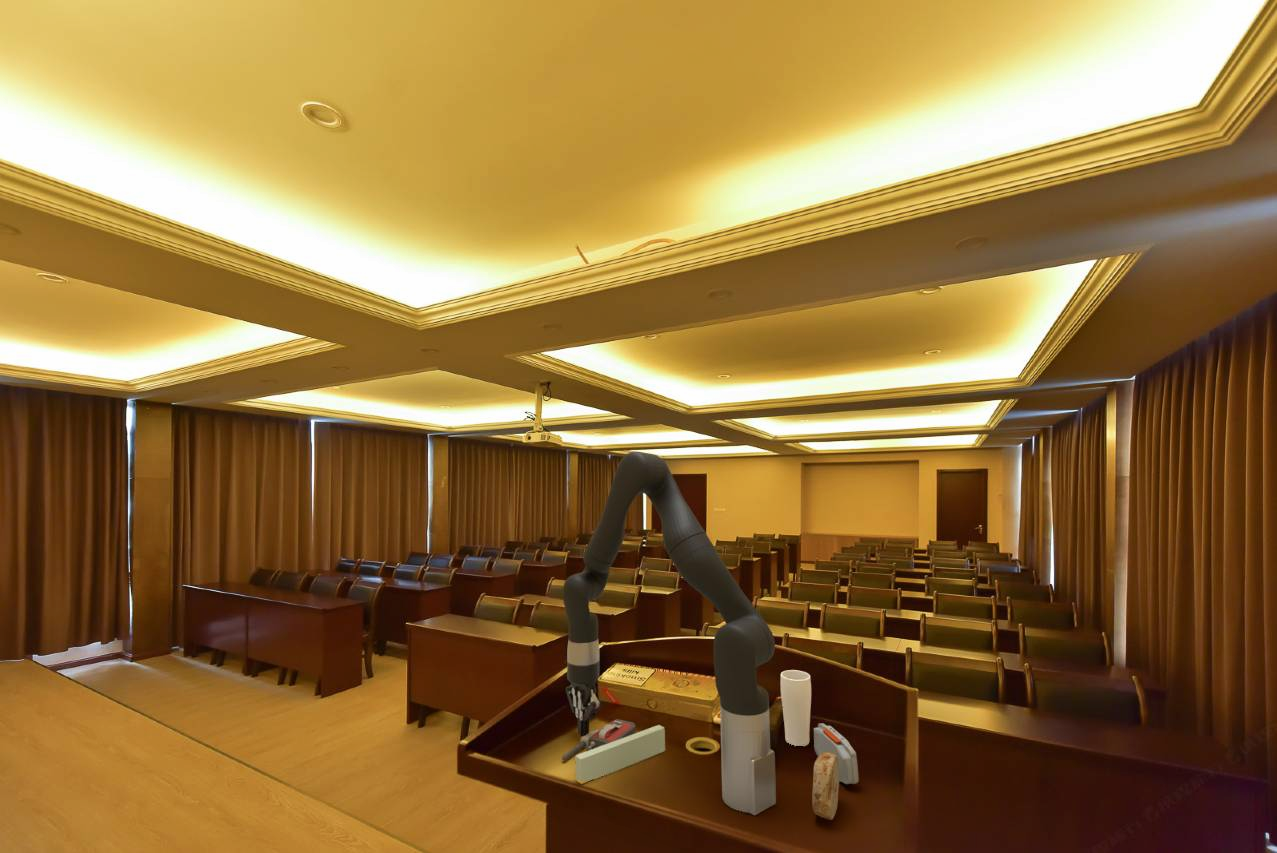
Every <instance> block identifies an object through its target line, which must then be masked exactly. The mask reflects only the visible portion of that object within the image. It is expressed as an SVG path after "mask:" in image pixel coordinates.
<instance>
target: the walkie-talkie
mask: <svg viewBox="0 0 1277 853" xmlns="http://www.w3.org/2000/svg"><path fill="white" fill-rule="evenodd" d="M636 731H637V730H636V724H635V723H634V722H632V721H627V720H624V719H619V718H616V719H614V720H612V721H610V722H609V723H607V724H605V726H603V727H601V729H594V730H591V731H589V733H588V734H587V735H585V736H581V737H580V739H579V740H580V742H579V743H578V744H577V745H576V746H574V747H573V748H572V749H570V750H569V751H567V752H566V753H565V754H563V755H562V756H561V759H562V760H563V761H566V760H568V759H570V757H572V756H573V755H575V754H576V753H577V752H578V751H580V750H582V749H584V748H585V749H587V751H589V750H592V749H594V748H597V747H600V746H603V745H605V744H608V743H611V742H613V741H616V740H619V739H622V738H624V737H627V736H630V735H633V734H635V733H637V732H636Z"/></svg>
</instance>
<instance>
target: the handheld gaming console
mask: <svg viewBox="0 0 1277 853" xmlns="http://www.w3.org/2000/svg"><path fill="white" fill-rule="evenodd" d="M813 740H814V741H813V742H814V744H813V747H814V751H815V753H816V755H817V758H818V757H819V756H820V754H821V753H825V752H826V753H832V754H835V755H836V756H837V759H838V776H839V783H840V782H841V783H843V784H845V785H850V784H852V785H854V784H858V783H859V780H860V778H859V768H858V759H857V758H858V757H857V752H856V751H855V750H854V748H853V747H852V746H851V744H850V742H849V741H848V740H847V738H846V737H844V736H843V735H842V734H841V733H839V732H838V731H837V730H836V729H835V728H834V727H832V726H831V725H826V724H825V723H823V722H822V723H818V724H817V727H813Z"/></svg>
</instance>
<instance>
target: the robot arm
mask: <svg viewBox="0 0 1277 853" xmlns="http://www.w3.org/2000/svg"><path fill="white" fill-rule="evenodd" d="M638 494H644V495H646V497H648V499H649V501H650V503H652V505H653V507H654V508H655V510H656V512H657V513H658V516H659V518H660V521H661V522H660V523H661V531H662V539H663V541H662V542H663V544H664V548H665V550H666V552H667V554H668V557H669V558H670V560H671V562H672V564H673V565H674V567H675V569H676V570H677V572H678V574H679V575H680V576H681V577H682V579H683V580H684V581H686V582H687V584H689V585H690V586H691V587H692V588H694V589H695V590H696V591H698V593H699V594H701V596H703V597H705V598H706V599H707V600H708V601H709V602H710V603H711V604H712V605H713V606H714V607H715V609H716V610H717V611H718V613H719V614H720V616H721V618H722V620H724V622H725V624H723V625H721V626H720V627H719V628H718V629H717V631H716V632H715V635H714V639H713V646H712V647H713V666H714V667H713V668H714V680H715V681H714V682H715V686H716V691H717V693H718V695H719V702H720V704H719V705H720V709H719V710H720V712H719V713H720V749H721V750H720V751H721V754H720V755H721V761H720V762H721V791H722V793H721V795H722V797H721V798H722V801H723V803H724V804H726V805H727V806H728V807H730V808H731V809H733V810H736V811H738V810H739V811H738V812H741V811H742V812H741V813H748V814H751V815H753V816H756V815H758V814H760V813H761V812H763V811H765V810H767V809H768V808H771V807H773V806H774V805H776V804H777V793H776V792H777V790H776V757H775V756H776V755H775V751H774V750H773V749H771V737H770V736H771V735H770V732H771V731H770V730H771V729H770V728H771V727H770V698H769V693H768V691H767V690H766V689H765V688H764V687H763V686H761V685H759V684H758V679H757V678H758V677H757V668H758V667H759V666H762V665H764V664H766V663H768V662H769V661H770V660H771V659H772V658H773V656H774V655H775V649H776V647H775V646H776V644H775V637H774V636H773V632H772V631H771V628H770V627H769V625H768V623H767V622H766V621H765V619H764V618H763V617H762V615H761V613H759V611H758V610H757V608H755V606H754V605H753V604H752V602H751V601H750V600H749V598H748V597H747V596H746V594H745V593H744V592H743V590H742V589H741V587H740V586H739V584H738V583H737V581H736V580H735V578H734V577H733V575H732V573H731V572H730V570H729V569H728V567H727V566H726V564H725V563H724V561H723V559H722V558H721V556H720V554H719V553H718V551H717V549H716V547H715V546H714V544H713V543H712V541H711V539H710V538H709V536H708V534H707V533H706V531H705V530H704V528H703V527H702V525H701V523H699V520H698V519H697V517H696V515H695V514H694V513H693V511H692V509H691V508H690V505H688V503H687V502H686V500H685V498H684V496H683V495H682V493H681V490H680V488H679V486H678V484H677V483H676V480H675V478H674V476H673V474H672V472H671V470H670V468H669V466H668V465H667V463H666V461H665V460H664V459H663V458H662V457H661V456H659V455H656V454H654V453H648V452H641V451H631V452H628V453H626V454H625V455H624V456H623V457H622V458H621V460H620V461H619V463H618V465H617V468H616V470H615V474H614V477H613V480H612V484H611V487H610V490H609V493H608V496H607V499H606V502H605V504H604V505H605V506H604V508H603V512H602V514H601V517H600V519H599V522H598V525H597V527H596V529H595V531H594V533H593V535H592V537H591V539H590V540H589V542H588V544H587V547H586V549H585V551H584V554H583V557H582V559H583V562H584V564H585V567H584V569H583V570H582V571H581V572H578V573H575V574H572V575H570V576H568V577H567V578H566V580H565V581H564V583H563V587H562V594H561V596H562V601H563V605H564V610H565V615H566V619H567V621H568V631H567V632H568V641H567V642H568V643H567V649H566V650H567V651H566V652H567V653H566V654H567V655H566V656H567V657H566V658H567V659H566V662H567V663H566V665H567V666H566V667H567V669H566V670H567V672H566V677H567V681H568V682H570V685H568V686H566V687H565V693H566V695H567V696H566V697H567V700H568V703H569V706H570V708H571V712H572V713H573V714H574V713H575V717H576V718H577V734H578V735H579V736H580V737H584V736H585V735H587V734H588V733H589V732H590V720H591V719H594V718H596V716H597V714H598V712H599V710H600V709H601V707H602V705H603V700H602V699H598V697H597V696H596V694H597V688H596V682H597V681H598V680H599V678H600V644H599V619H598V616H597V614H596V613H595V612H592V611H590V606H589V605H590V603H589V602H592V601H595V600H597V599H598V598H599V597H600V596H601V594H603V592H604V590H605V588H606V585H607V582H608V578H609V575H610V572H611V566H612V565H613V563H614V561H615V560H616V557H617V556H618V553H619V551H620V549H621V548H622V545H623V542H624V540H625V530H626V519H627V514H628V512H629V509H630V506H631V505H632V503H633V502H634V500H635V498H636V497H637V495H638Z"/></svg>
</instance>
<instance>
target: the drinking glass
mask: <svg viewBox="0 0 1277 853" xmlns="http://www.w3.org/2000/svg"><path fill="white" fill-rule="evenodd" d="M811 680H812V679H811V675H810V674H809V673H808V672H806V671H803V670H802V671H801V670H796V669H790V670H788V669H787V670H784V671H782V672H781V673H780V697H781V705H782V706H781V708H782V707H783V708H782V714H783V722H784V725H783V726H784V737H785V738H784V739H785V742H786V743H787V744H788V743H789V745H790V744H791V745H790V746H792V745H794V746H793V747H796V746H803V747H806V746H808V745H809V743H810V724H811V707H812V706H811V704H812V682H811Z"/></svg>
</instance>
